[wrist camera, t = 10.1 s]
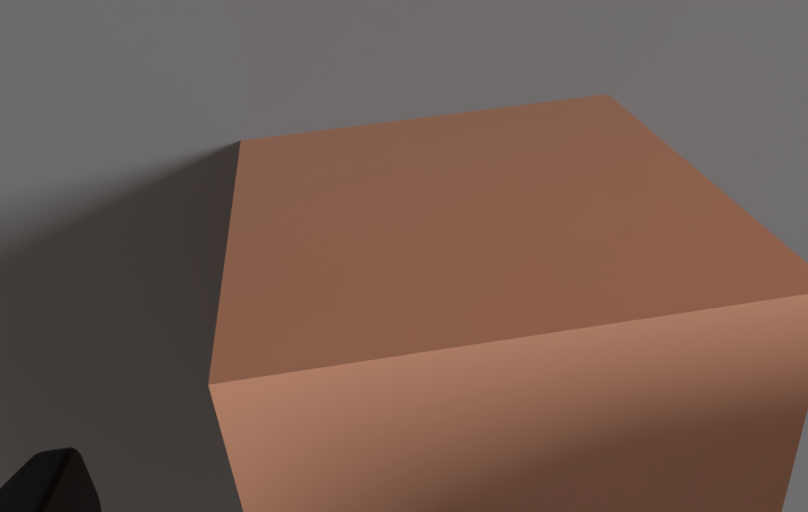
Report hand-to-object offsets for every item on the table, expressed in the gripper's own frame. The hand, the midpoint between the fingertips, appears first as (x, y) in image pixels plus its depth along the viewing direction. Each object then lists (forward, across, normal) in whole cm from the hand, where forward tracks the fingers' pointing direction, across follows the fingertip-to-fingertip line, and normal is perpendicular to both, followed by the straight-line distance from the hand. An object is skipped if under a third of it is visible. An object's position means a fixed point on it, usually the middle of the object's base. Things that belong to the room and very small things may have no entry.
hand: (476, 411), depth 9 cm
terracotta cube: (+3, 0, 0) cm, 3 cm away
